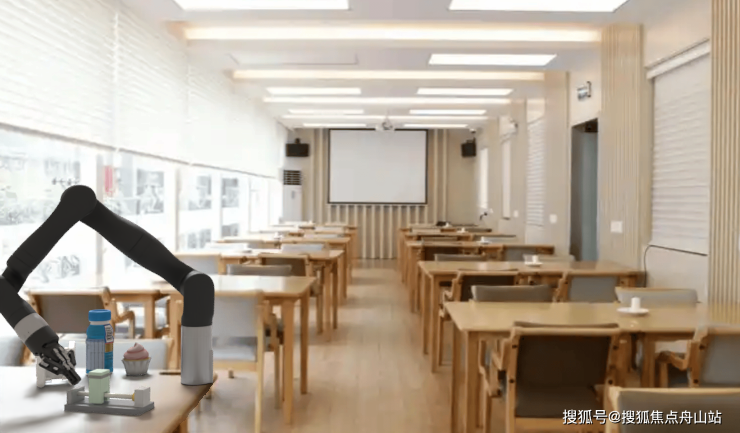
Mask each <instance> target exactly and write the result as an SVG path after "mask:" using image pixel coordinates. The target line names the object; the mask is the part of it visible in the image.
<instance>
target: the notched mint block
mask: <svg viewBox="0 0 740 433" xmlns="http://www.w3.org/2000/svg"><path fill="white" fill-rule="evenodd" d="M87 376H88V392H89V397H88V398H89V403H98V404H102V403H104V401H108V400H110V399H111V398H104V393H111V391H110V390H111V385H110V384H111V380H110V379H111V378H110V377H111V374H110V370H109V369H96V370H93V371H90V372H89V375H87Z"/></svg>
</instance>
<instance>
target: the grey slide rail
mask: <svg viewBox="0 0 740 433" xmlns="http://www.w3.org/2000/svg"><path fill="white" fill-rule="evenodd" d="M85 387H86V385H78V386H76V387H74V388H71V389H69V390H66V403H64V405H63V409H64V411H67V412H80V413H83V412H84V413H95V414H97V413H98V414H108V415H109V414H112V415H113V414H114V415H124V416H125V415H126V416H127V415H128V416H140V415H143V414H145V413H146V412H149V411H150V410H152V409H154V408H155V401H152V400H151V386H142V385H141V386H139V387H137V388H135V389H134V390H133V391H134V392H133V393H132V394H131V393H129V394H128V393H114V392H113V393H112V392H110V393H104V398H110V400H108V401H104V403H102V404H98V403H89V391H86V388H85Z"/></svg>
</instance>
